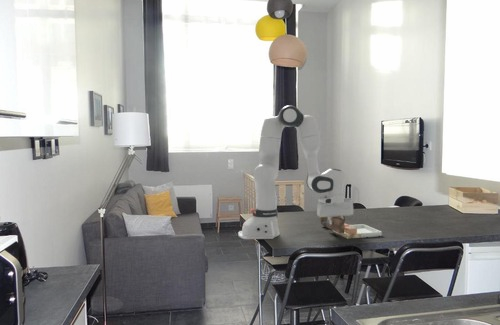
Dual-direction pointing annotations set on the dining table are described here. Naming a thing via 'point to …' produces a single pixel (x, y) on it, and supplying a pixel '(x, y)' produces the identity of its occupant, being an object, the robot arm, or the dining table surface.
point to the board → (350, 235)
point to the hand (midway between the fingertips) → (335, 224)
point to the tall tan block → (336, 224)
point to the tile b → (350, 230)
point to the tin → (324, 220)
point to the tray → (367, 231)
